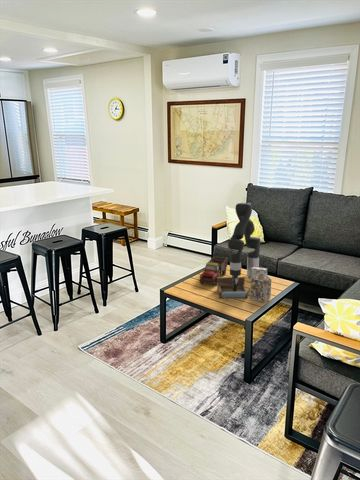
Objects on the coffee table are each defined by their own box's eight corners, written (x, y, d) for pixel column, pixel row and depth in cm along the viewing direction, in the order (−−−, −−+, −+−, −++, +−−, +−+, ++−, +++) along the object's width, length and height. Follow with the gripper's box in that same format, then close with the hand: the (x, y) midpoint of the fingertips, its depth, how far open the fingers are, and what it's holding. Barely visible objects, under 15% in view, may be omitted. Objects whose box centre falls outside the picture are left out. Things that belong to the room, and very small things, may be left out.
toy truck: (197, 285, 290) (197, 266, 286) (214, 270, 321) (214, 253, 317) (215, 288, 284) (215, 269, 280) (229, 272, 315) (230, 255, 311)
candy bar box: (266, 288, 281) (267, 268, 276) (264, 291, 277) (265, 270, 272) (252, 286, 286) (253, 266, 281) (250, 288, 282) (250, 268, 277)
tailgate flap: (222, 296, 264) (223, 291, 255) (244, 295, 264) (246, 291, 255) (222, 297, 264) (223, 293, 255) (245, 297, 264) (247, 293, 255)
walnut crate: (217, 289, 281) (217, 277, 278) (244, 289, 280) (244, 276, 278) (219, 298, 265) (219, 285, 262) (247, 298, 265) (248, 285, 262)
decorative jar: (265, 303, 257) (266, 278, 252) (249, 299, 263) (250, 275, 258) (271, 296, 267) (272, 273, 262) (255, 293, 273) (256, 270, 268)
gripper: (228, 264, 259) (228, 288, 263) (231, 271, 246) (230, 295, 251) (239, 264, 259) (238, 287, 263) (242, 271, 246) (241, 295, 251)
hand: (234, 291), depth 257 cm, fingers closed
